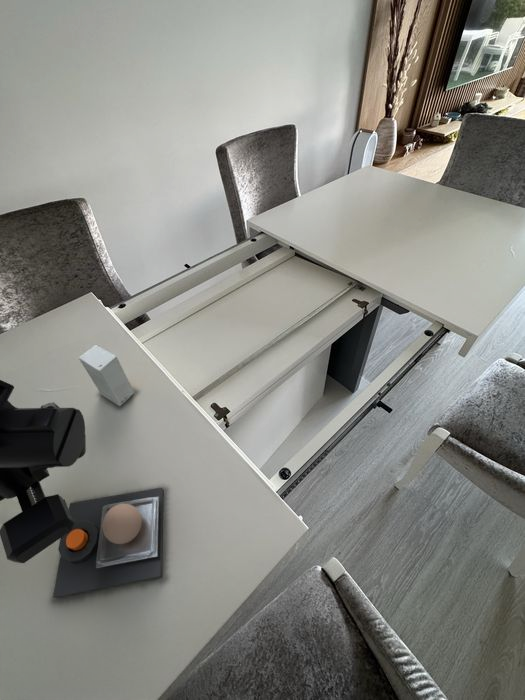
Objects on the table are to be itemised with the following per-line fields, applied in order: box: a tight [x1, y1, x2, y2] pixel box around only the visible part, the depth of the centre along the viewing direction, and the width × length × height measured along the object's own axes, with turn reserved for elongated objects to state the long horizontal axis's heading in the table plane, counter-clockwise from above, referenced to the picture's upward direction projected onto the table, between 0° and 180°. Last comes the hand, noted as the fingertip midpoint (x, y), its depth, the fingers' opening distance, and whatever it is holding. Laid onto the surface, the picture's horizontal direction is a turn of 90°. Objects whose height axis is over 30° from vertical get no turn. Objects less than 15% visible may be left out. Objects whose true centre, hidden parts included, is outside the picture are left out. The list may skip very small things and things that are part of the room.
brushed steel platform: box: [96, 497, 159, 568], centre depth 53 cm, size 9×9×1 cm
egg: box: [102, 504, 142, 544], centre depth 50 cm, size 5×5×7 cm
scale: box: [52, 487, 165, 599], centre depth 54 cm, size 15×13×3 cm
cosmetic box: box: [78, 344, 135, 407], centre depth 69 cm, size 6×4×12 cm
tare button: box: [66, 529, 88, 550], centre depth 52 cm, size 3×3×2 cm
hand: (49, 499), depth 48 cm, fingers open, 9 cm apart
